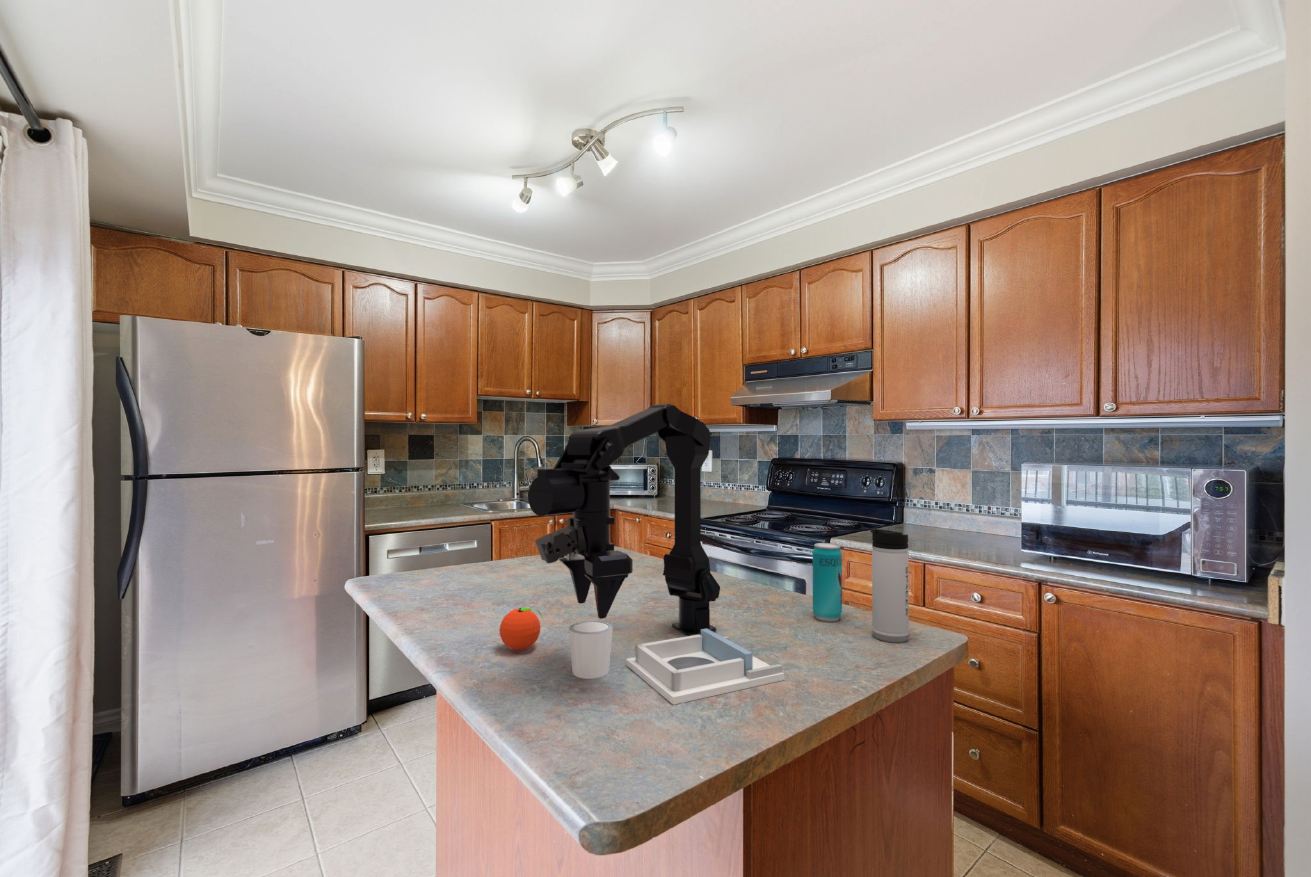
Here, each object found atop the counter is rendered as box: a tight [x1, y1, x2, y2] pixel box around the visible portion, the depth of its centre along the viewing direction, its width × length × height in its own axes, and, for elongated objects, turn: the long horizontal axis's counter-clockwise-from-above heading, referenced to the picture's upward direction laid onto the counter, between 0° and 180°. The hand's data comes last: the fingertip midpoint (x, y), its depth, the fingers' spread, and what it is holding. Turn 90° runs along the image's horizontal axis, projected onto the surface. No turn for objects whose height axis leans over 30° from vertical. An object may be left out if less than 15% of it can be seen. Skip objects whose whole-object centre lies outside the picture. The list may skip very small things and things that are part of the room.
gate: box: [700, 629, 754, 676], centre depth 92 cm, size 13×1×3 cm, turn 27°
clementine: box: [498, 607, 543, 651], centre depth 101 cm, size 8×7×7 cm
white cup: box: [568, 620, 614, 680], centre depth 91 cm, size 7×7×7 cm
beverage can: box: [812, 542, 843, 623], centre depth 119 cm, size 6×6×15 cm
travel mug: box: [870, 527, 910, 644], centre depth 107 cm, size 6×7×20 cm
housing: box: [625, 634, 785, 705], centre depth 90 cm, size 16×19×4 cm
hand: (591, 610), depth 91 cm, fingers open, 9 cm apart
